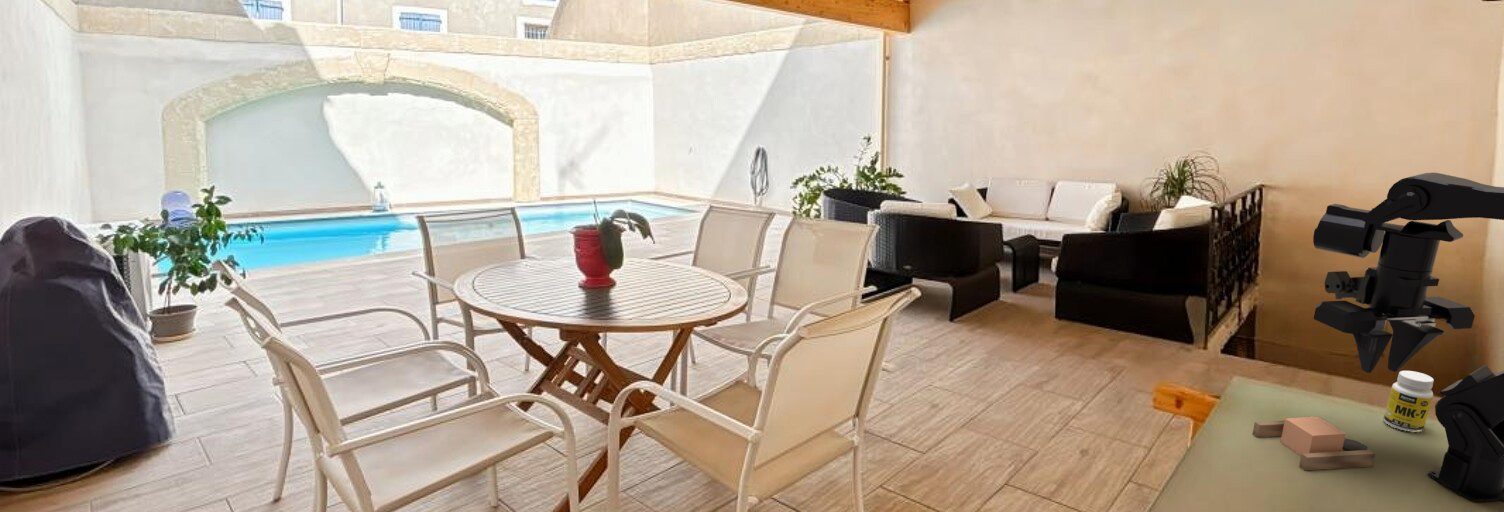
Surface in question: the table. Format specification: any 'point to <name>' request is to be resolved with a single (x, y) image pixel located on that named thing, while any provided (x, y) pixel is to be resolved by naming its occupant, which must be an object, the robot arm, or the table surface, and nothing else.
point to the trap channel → (1350, 458)
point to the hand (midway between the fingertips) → (1379, 371)
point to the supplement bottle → (1409, 401)
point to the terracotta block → (1311, 435)
